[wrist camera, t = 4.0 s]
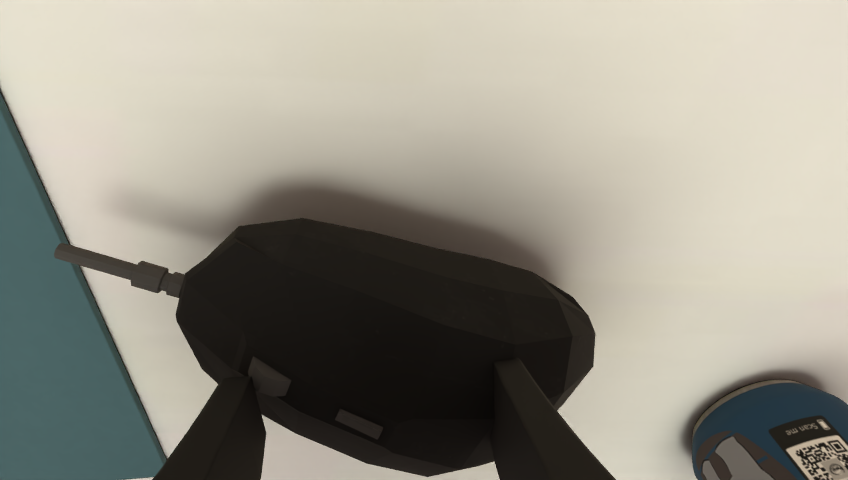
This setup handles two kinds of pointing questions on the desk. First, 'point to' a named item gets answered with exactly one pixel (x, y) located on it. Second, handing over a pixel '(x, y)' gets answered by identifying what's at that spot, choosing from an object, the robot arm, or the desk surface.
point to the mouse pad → (57, 350)
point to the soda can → (773, 435)
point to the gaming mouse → (369, 336)
